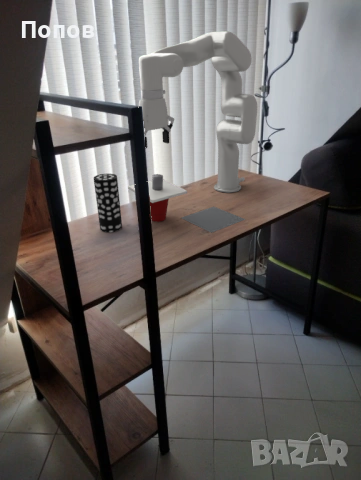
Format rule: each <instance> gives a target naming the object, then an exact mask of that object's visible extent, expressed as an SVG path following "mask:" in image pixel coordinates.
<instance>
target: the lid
mask: <svg viewBox="0 0 361 480" xmlns="http://www.w3.org/2000/svg"><path fill="white" fill-rule="evenodd" d="M147 182H148V183H149V195H150V202H152V203H154V202H158V201H161V200H165V199H168V198H169V199H171V198H175V197H178V196H182V195H186V194H188V190H186V189H184V188H183V187H180V186H178V185H177V184H174V183H172V182H171V181H169V180H166V179H165V178H164V176H163V174H158V173H157V174H156V173H155V174H152V178H151V180H149V181H147ZM134 185H135V184H132V185H128V187H127V189H128V190H130V191H131V192H133V193H135V188H134Z"/></svg>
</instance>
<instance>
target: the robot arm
mask: <svg viewBox="0 0 361 480" xmlns="http://www.w3.org/2000/svg"><path fill="white" fill-rule="evenodd" d="M208 60H210V61H211V65H212V66H213V68H214V69H215V71H217V73H218V75H219V76H220V79H221V96H220V97H221V98H220V99H221V100H220V109H221V113H222V114H223V115H224V116H227V117H233V118H240V119H241V120H239V119H228V118H226V119H222V120H220V121H219V122H218V124H217V125H216V130H215V131H216V132H215V134H216V138H217V139H216V140H217V147H218V148H217V151H218V152H217V183H215V184H214V186H213V189H214V190H215V191H217V192H220V193H227V194H228V193H236V192H239V191H241V189H242V186H241V185H240V183H242V182H245V177H244V176H242V177H239V167H240V166H239V164H240V149H239V146H238V144H241V145H250V144H251V143H252V142H253V141H254V138H255V136H256V129H257V119H258V101H257V99H256V97H255V96H254V95H252V94H249V93H243V78H242V75H241V74H240V73H241V72H242V73H243V72H246V71H247V70H249V68H250V66H251V65H252V54H251V52H250V49H249V48H248V47H247V46H246V45H245V44H244V42H243V41H242V40H241V39H240V38H239V37H238V36H237V35H236V34H234V32H232V31H230V30H229V31H228V30H227V31H225V30H224V31H209V32H207V33H203V34H201V35H199V36H197V37H195V38H192V39H190V40H187V41H183V42H180V43H177V44H174V45H173V44H172V45H169V46H166V47H163V48H160V49H157V50H155V51H153V52H150V53H148V54H143V55H141V56H139V58H138V68H139V69H138V70H139V81H140V84H139V85H140V97H141V98H140V99H139V100H138V101H139V102H138V107H139V106H142V109H143V121H144V134H145V147H146V148H145V149H147V148H148V137H147V136H146V135H147V133H148V131H149V132H150V131H154V130H160V129H162V143H165V144H170V132H171V129H172V128H173V125H174V123H175V117H173V116H170V115H169V114H168V109H167V108H168V107H167V102H166V98H164V95H165V94H166V90H165V89H164V86H163V83H164V82H163V78H176V77H178V76H179V75H180V74H182V72H183V70H184V68H189V67H194V66H195V67H196V66H198V65H200V64H202V63H203V62H206V61H208Z"/></svg>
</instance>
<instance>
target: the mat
mask: <svg viewBox="0 0 361 480" xmlns="http://www.w3.org/2000/svg"><path fill="white" fill-rule="evenodd" d="M180 219H182V220H184V221H186V222H189V223H191V224H192V225H195V226H197V227H198V228H201V229H203V230H205V231H207V232H208V233H215V232H218V231H219V230H223V229H225V228H228V227H230V226H232V225H235V224H237V223H240V222H243V221H245V220H246V218H243V217H241V216H238V215H236V214H233V213H231V212H229V211H226V210H224V209H221V208H219V207H216V206H211V207H209V208H206V209H202V210H200V211H197V212H194V213H190V214H187V215H184V216H182V217H180Z"/></svg>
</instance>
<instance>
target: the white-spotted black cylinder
mask: <svg viewBox="0 0 361 480" xmlns="http://www.w3.org/2000/svg"><path fill="white" fill-rule="evenodd" d="M93 185H94V191H95V192H94V193H95V200H96V207H97V209H96V210H97V216H98V221H99V222H98V224H99V230H100V231H101V232H103V233H116V232H118V231H120V230H122V228H123V222H122V211H121V203H120V202H121V201H120V193H119V183H118V175H117V174H115V173H101V174H97V175H94V176H93ZM115 231H116V232H115Z"/></svg>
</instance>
